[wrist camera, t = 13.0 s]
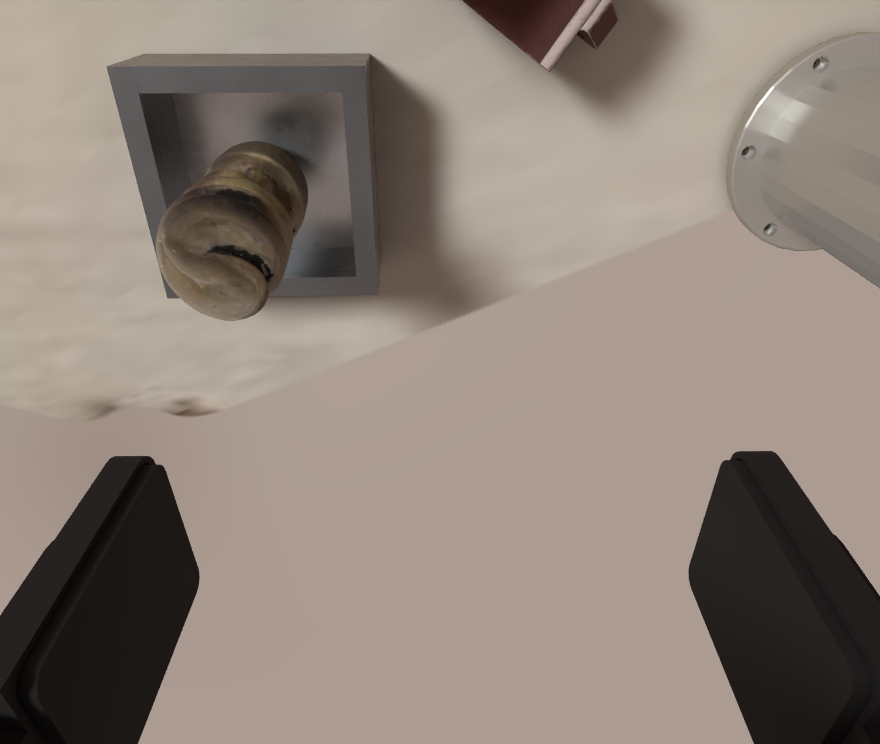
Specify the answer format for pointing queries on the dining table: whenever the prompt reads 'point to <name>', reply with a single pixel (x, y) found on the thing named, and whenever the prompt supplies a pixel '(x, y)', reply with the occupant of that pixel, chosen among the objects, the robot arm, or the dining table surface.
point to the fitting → (271, 121)
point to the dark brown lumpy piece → (548, 24)
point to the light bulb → (234, 231)
